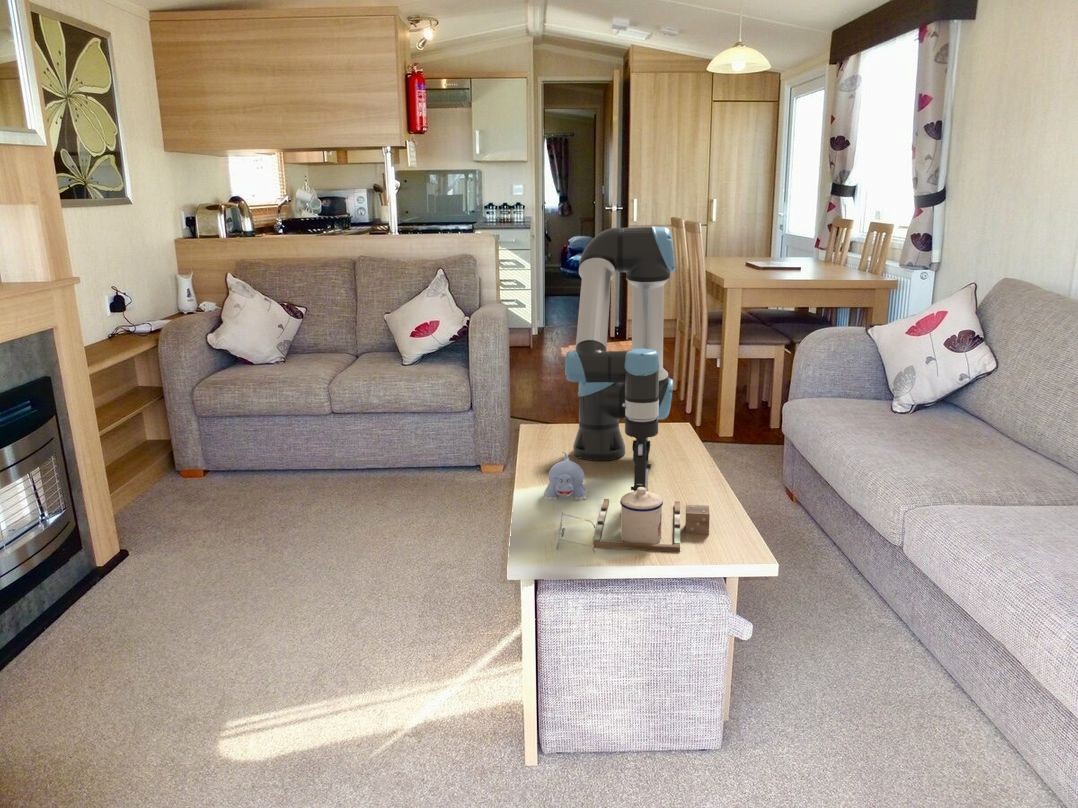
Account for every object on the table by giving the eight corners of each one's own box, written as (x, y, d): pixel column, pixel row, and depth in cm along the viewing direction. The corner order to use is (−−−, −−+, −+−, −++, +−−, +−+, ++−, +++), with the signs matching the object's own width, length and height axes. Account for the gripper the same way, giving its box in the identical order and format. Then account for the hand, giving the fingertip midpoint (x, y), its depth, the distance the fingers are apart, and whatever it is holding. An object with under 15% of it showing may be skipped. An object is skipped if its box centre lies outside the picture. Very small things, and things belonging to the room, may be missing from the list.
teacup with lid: (668, 544, 169) (669, 493, 166) (627, 549, 168) (627, 498, 164) (649, 522, 181) (649, 474, 177) (611, 526, 179) (610, 478, 176)
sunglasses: (559, 528, 180) (562, 508, 179) (595, 534, 180) (599, 514, 179) (555, 554, 167) (559, 533, 166) (595, 561, 167) (598, 539, 165)
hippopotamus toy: (542, 508, 191) (541, 471, 189) (545, 487, 206) (544, 452, 203) (587, 508, 191) (586, 471, 188) (587, 486, 205) (586, 451, 203)
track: (604, 502, 194) (604, 495, 193) (679, 505, 191) (679, 498, 190) (593, 547, 169) (593, 539, 168) (680, 551, 166) (680, 543, 165)
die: (685, 525, 179) (685, 504, 178) (708, 526, 178) (708, 505, 177) (685, 534, 174) (686, 513, 173) (708, 535, 174) (709, 513, 172)
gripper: (628, 404, 193) (627, 486, 198) (621, 432, 169) (621, 525, 174) (659, 404, 192) (658, 487, 197) (657, 433, 168) (655, 526, 173)
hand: (641, 505), depth 186 cm, fingers open, 13 cm apart
